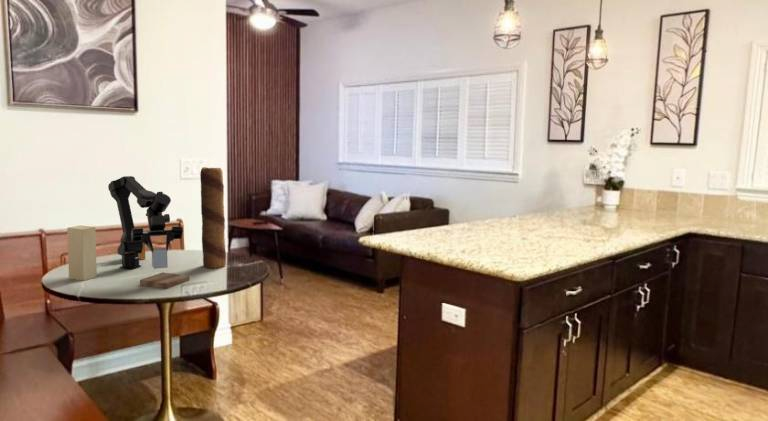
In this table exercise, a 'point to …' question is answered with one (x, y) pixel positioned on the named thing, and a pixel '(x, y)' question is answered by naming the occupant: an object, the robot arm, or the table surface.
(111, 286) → the table surface
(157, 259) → the blue-grey block
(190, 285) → the table surface
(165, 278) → the walnut block
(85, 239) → the tall beige block
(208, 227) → the wafer roll
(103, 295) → the table surface
